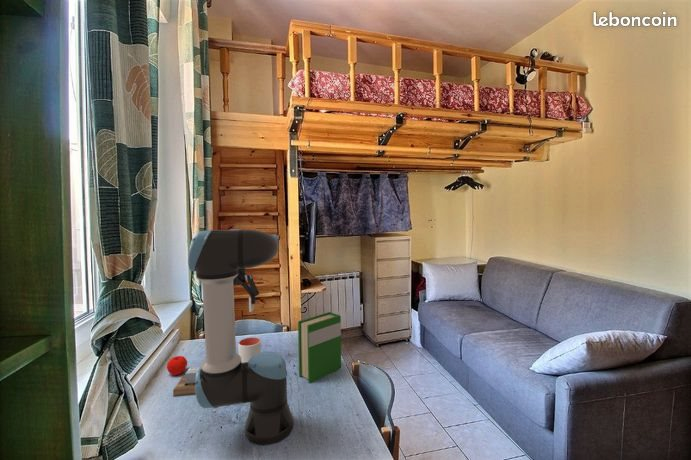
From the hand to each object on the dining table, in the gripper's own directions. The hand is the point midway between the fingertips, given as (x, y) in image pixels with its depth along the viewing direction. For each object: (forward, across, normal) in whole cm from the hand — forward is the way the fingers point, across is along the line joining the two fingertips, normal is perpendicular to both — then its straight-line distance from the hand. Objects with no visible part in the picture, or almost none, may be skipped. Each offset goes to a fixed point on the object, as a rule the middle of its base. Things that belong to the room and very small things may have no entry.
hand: (238, 310), depth 141 cm
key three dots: (+23, +8, +19) cm, 31 cm away
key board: (+26, +1, +16) cm, 31 cm away
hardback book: (+26, -38, -2) cm, 46 cm away
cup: (+26, -3, -4) cm, 27 cm away
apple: (+26, +23, +11) cm, 37 cm away
